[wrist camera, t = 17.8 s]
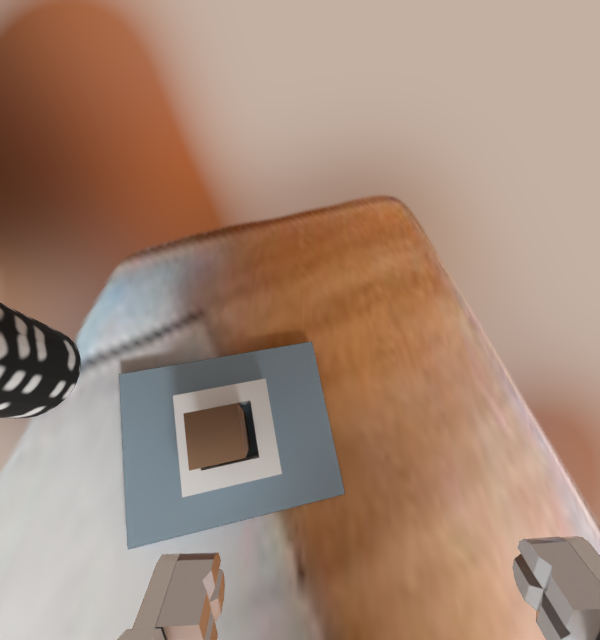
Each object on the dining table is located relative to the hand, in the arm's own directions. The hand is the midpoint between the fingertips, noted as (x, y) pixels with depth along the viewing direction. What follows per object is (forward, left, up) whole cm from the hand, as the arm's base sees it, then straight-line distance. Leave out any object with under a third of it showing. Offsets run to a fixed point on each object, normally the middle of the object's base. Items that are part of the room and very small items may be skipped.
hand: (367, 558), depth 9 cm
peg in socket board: (+4, +5, -23) cm, 24 cm away
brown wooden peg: (+4, +5, -22) cm, 23 cm away
